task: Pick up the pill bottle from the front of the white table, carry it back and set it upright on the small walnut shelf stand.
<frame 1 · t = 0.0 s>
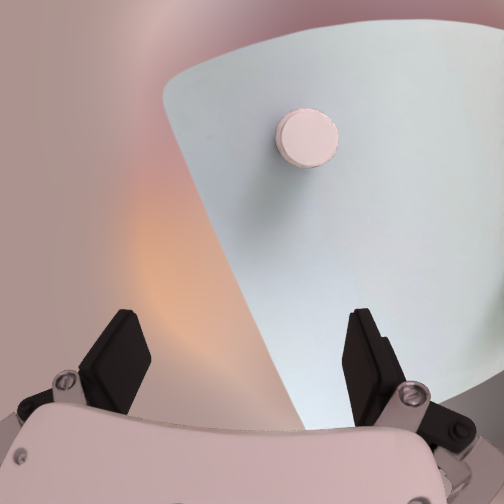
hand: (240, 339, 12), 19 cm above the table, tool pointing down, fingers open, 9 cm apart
pill bottle: (299, 137, 25), on the table
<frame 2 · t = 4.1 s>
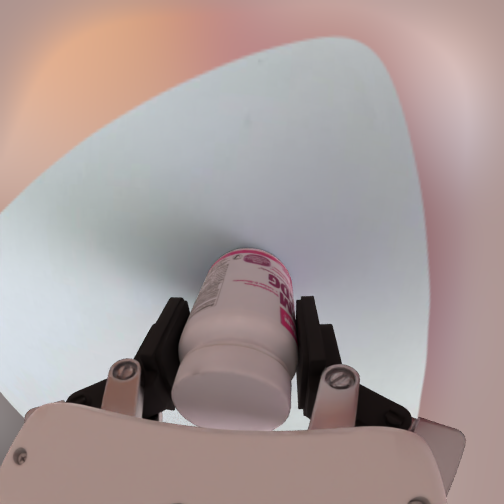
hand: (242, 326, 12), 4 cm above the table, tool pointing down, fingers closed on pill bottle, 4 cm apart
pill bottle: (249, 282, 16), on the table, touching gripper
when the fingers open (11 cm above the table, at t = 12.2 s): pill bottle stays where it is, resting on shelf.
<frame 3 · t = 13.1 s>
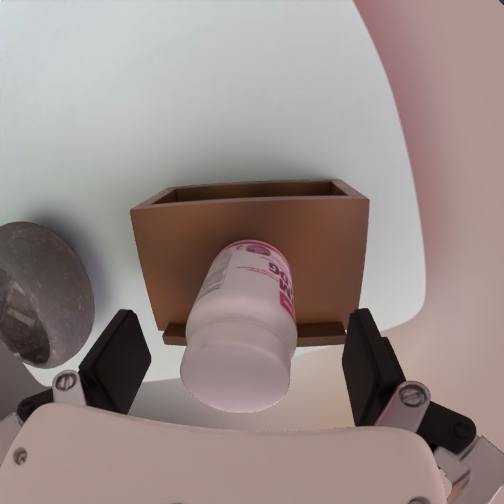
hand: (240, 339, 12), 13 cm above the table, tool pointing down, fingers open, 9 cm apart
bowl: (62, 269, 27), on the table
shelf: (255, 235, 23), on the table
pill bottle: (251, 273, 17), point 7 cm above the table, touching shelf
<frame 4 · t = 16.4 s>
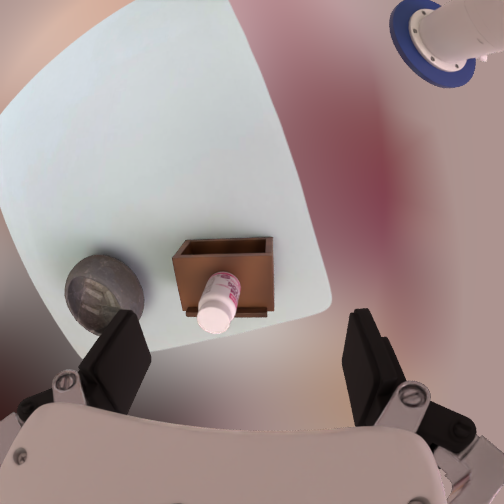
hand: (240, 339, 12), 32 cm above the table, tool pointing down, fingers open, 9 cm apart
bowl: (119, 279, 50), on the table
shelf: (230, 264, 46), on the table
pill bottle: (224, 284, 40), point 7 cm above the table, touching shelf
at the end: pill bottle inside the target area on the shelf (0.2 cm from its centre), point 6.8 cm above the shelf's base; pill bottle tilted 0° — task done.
